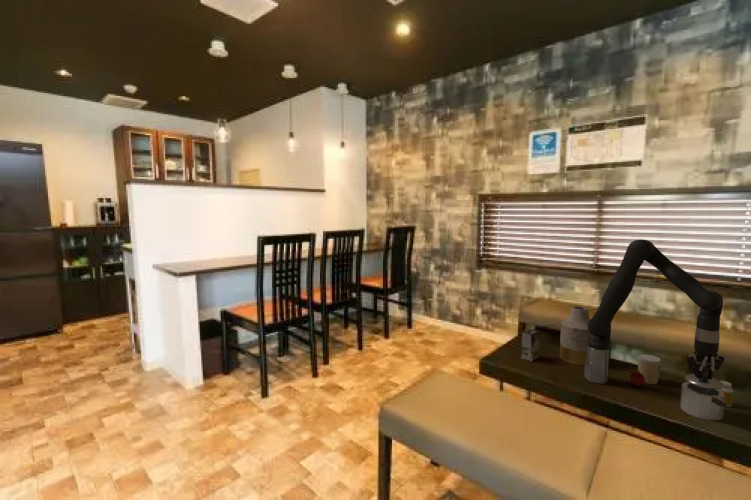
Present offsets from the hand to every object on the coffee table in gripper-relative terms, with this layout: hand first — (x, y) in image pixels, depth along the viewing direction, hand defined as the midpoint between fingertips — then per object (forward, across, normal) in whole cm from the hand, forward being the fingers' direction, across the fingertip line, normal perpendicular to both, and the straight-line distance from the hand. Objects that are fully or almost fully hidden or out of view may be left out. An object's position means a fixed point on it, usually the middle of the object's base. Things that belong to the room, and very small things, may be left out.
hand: (703, 378), depth 149 cm
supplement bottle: (+15, +15, +7) cm, 22 cm away
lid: (+2, 0, 0) cm, 2 cm away
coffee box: (+15, -52, +54) cm, 76 cm away
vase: (+15, -25, +54) cm, 61 cm away
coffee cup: (+15, -3, +28) cm, 32 cm away
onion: (+15, -12, +22) cm, 29 cm away
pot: (+15, 0, 0) cm, 15 cm away
